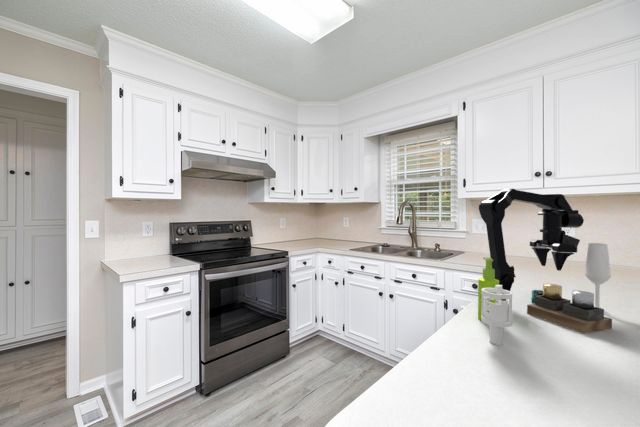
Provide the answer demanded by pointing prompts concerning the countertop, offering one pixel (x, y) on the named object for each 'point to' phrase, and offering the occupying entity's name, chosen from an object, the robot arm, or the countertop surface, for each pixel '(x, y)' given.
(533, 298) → the digital multimeter
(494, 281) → the soap dispenser
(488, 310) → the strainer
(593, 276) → the champagne flute
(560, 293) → the brass knob
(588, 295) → the steel knob
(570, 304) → the knob console
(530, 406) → the countertop surface
